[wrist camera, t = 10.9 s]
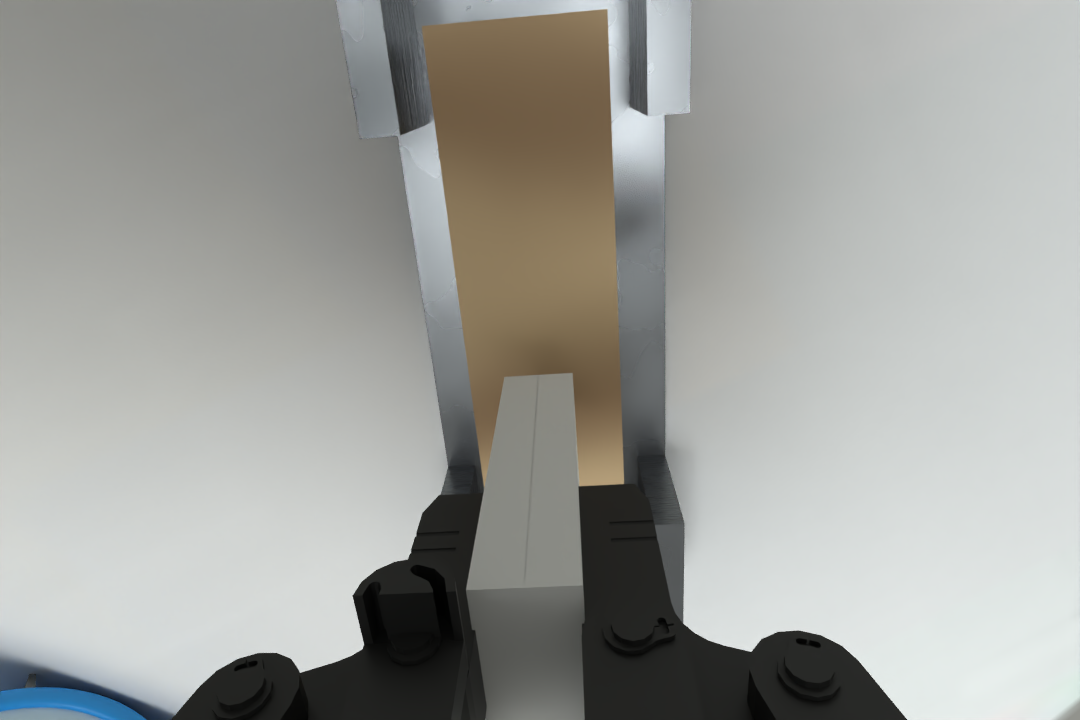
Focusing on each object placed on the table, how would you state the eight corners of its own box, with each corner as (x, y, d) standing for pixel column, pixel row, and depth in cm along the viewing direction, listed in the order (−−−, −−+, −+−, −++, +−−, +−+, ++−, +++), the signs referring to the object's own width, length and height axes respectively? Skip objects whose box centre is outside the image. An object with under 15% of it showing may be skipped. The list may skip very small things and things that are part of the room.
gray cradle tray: (371, -66, 18) (317, -106, 14) (660, -93, 18) (693, -143, 14) (466, 562, 27) (450, 652, 23) (662, 553, 27) (682, 643, 23)
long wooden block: (454, 36, 19) (421, 26, 14) (594, 24, 19) (607, 8, 14) (514, 544, 26) (505, 646, 21) (616, 539, 26) (629, 640, 21)
